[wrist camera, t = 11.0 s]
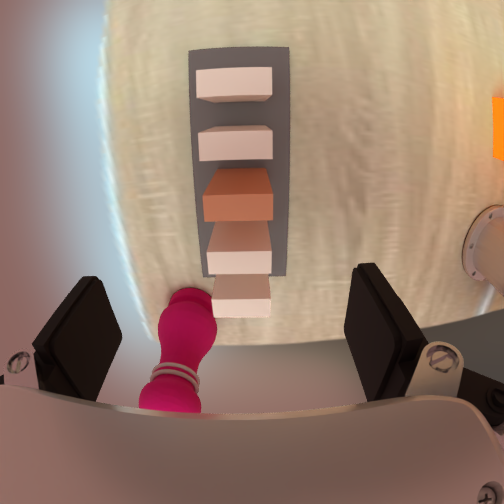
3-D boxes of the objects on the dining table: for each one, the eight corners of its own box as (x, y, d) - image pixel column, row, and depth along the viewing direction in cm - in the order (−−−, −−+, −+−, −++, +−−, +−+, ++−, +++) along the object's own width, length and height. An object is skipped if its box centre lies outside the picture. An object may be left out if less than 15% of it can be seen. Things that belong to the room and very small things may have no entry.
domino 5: (221, 247, 33) (211, 299, 24) (265, 246, 33) (270, 298, 24) (222, 262, 34) (213, 317, 25) (265, 261, 34) (270, 316, 25)
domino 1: (213, 84, 25) (195, 70, 16) (264, 82, 25) (271, 67, 16) (214, 102, 26) (196, 97, 17) (264, 101, 26) (272, 94, 17)
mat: (288, 48, 24) (289, 47, 23) (285, 273, 36) (285, 275, 35) (189, 51, 24) (188, 50, 23) (203, 274, 36) (203, 277, 35)
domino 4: (218, 209, 31) (206, 252, 22) (265, 208, 31) (271, 251, 22) (220, 226, 32) (208, 274, 23) (265, 226, 32) (271, 273, 23)
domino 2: (215, 126, 27) (197, 133, 18) (265, 125, 27) (272, 130, 18) (215, 145, 28) (199, 161, 19) (265, 144, 28) (272, 159, 19)
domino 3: (217, 169, 29) (202, 195, 20) (265, 167, 29) (273, 193, 20) (218, 187, 30) (204, 221, 21) (265, 186, 30) (272, 220, 21)
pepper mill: (228, 319, 39) (218, 455, 21) (182, 331, 40) (154, 457, 22) (205, 277, 36) (174, 419, 18) (157, 293, 37) (106, 422, 19)
